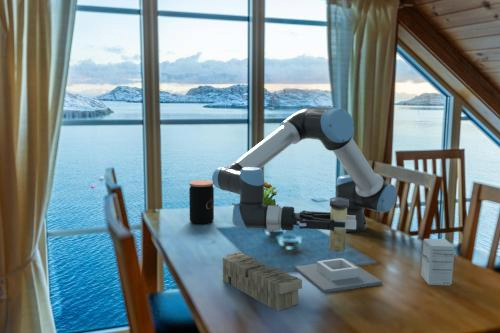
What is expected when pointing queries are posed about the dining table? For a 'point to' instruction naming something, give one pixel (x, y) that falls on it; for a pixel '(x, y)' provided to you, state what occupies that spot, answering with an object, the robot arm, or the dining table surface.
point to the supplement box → (437, 261)
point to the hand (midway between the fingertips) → (355, 222)
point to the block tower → (261, 281)
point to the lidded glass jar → (338, 234)
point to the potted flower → (266, 199)
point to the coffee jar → (201, 202)
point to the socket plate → (337, 275)
